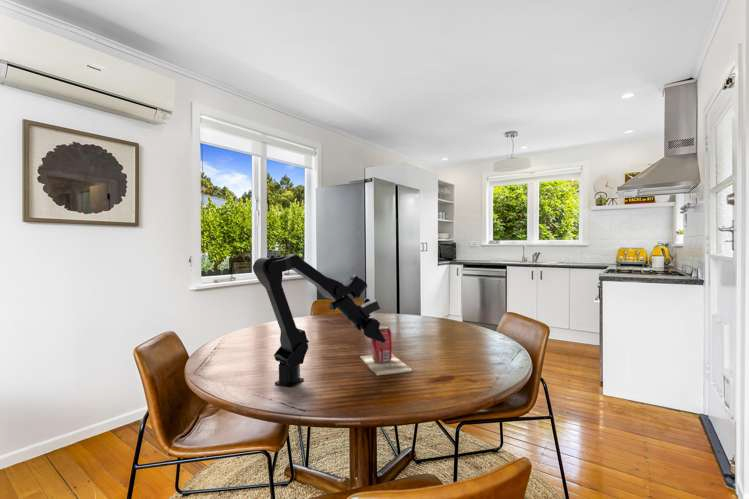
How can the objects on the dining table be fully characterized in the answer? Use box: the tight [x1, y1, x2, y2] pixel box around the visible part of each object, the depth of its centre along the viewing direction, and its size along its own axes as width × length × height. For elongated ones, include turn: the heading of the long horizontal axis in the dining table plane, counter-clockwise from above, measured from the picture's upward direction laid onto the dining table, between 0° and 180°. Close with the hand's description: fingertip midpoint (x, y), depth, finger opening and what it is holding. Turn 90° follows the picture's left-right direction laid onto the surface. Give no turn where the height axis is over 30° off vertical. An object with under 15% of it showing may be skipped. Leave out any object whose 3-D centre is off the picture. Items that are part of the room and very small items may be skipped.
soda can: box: [371, 324, 393, 363], centre depth 133 cm, size 7×7×12 cm
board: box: [359, 353, 413, 376], centre depth 131 cm, size 20×12×1 cm, turn 18°
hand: (380, 338), depth 133 cm, fingers open, 9 cm apart
